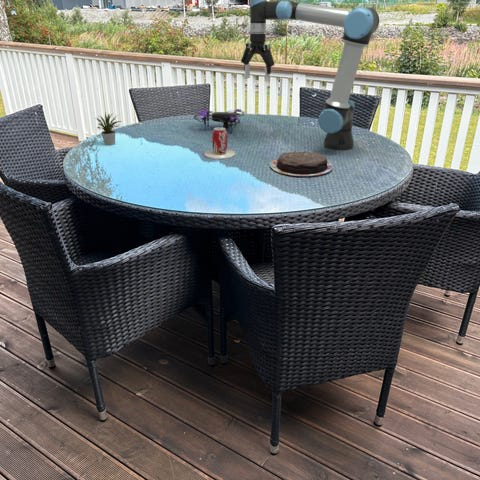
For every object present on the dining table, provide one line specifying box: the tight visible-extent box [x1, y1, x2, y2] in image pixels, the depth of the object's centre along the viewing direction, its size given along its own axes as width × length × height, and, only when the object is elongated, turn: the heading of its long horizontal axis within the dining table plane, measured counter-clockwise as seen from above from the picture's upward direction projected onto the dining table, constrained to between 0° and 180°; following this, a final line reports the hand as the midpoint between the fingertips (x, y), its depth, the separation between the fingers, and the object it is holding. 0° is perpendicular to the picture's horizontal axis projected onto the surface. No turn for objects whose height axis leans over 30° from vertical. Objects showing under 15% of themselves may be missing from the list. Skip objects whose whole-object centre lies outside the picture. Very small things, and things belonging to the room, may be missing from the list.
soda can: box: [211, 126, 228, 155], centre depth 220 cm, size 7×7×12 cm
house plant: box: [95, 112, 122, 146], centre depth 235 cm, size 14×14×16 cm
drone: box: [193, 108, 245, 135], centre depth 266 cm, size 40×10×28 cm
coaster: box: [204, 148, 236, 160], centre depth 223 cm, size 15×15×1 cm
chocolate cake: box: [269, 151, 333, 178], centre depth 205 cm, size 28×28×7 cm
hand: (257, 79), depth 229 cm, fingers open, 13 cm apart
